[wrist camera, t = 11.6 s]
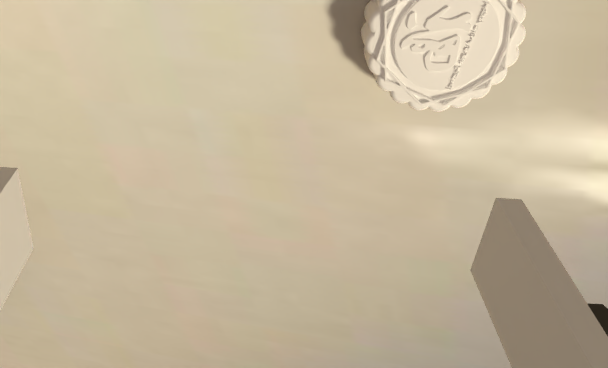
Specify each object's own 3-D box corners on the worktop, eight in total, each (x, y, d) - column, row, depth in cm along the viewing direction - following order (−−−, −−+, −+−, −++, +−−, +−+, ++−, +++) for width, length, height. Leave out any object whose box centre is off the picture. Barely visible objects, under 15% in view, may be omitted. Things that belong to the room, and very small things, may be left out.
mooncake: (390, -75, 41) (399, -65, 38) (541, -31, 43) (561, -18, 40) (340, 78, 47) (345, 96, 44) (474, 110, 49) (486, 130, 46)
